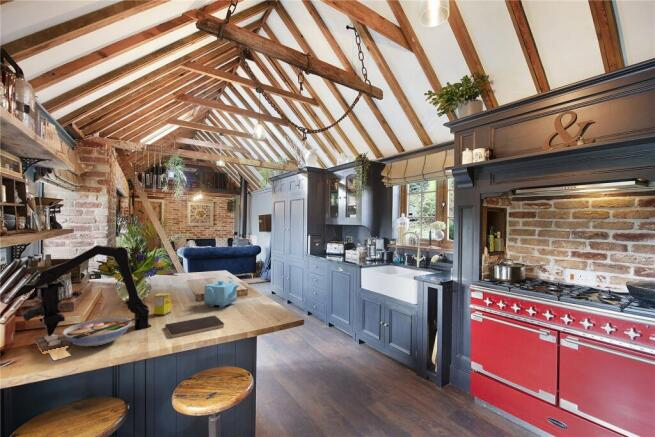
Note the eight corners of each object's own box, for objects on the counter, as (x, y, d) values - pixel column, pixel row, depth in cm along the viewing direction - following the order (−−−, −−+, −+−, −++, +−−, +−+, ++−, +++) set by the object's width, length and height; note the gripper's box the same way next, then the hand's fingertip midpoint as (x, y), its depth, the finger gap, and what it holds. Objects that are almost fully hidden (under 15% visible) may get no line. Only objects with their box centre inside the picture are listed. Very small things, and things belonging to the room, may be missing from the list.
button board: (70, 347, 119) (70, 342, 119) (42, 354, 112) (42, 349, 112) (60, 337, 129) (60, 332, 129) (34, 343, 123) (34, 337, 123)
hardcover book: (224, 328, 143) (224, 323, 143) (171, 339, 129) (171, 334, 129) (214, 319, 155) (214, 315, 155) (165, 328, 142) (165, 323, 142)
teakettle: (202, 303, 183) (203, 279, 183) (234, 299, 192) (234, 276, 192) (206, 311, 167) (206, 285, 167) (240, 307, 175) (240, 282, 176)
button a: (61, 347, 118) (61, 341, 118) (49, 350, 115) (49, 344, 115) (59, 345, 120) (59, 339, 120) (48, 347, 117) (48, 341, 117)
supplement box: (171, 312, 164) (171, 292, 165) (164, 316, 158) (164, 295, 159) (161, 312, 165) (161, 292, 165) (153, 315, 159) (153, 295, 159)
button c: (56, 341, 124) (56, 335, 124) (44, 344, 121) (44, 338, 121) (54, 339, 126) (54, 333, 126) (43, 342, 123) (43, 336, 123)
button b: (58, 342, 121) (58, 336, 121) (47, 344, 118) (47, 338, 118) (56, 340, 123) (56, 334, 123) (45, 342, 120) (45, 336, 120)
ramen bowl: (111, 329, 139) (112, 311, 139) (146, 336, 130) (146, 318, 130) (45, 351, 115) (45, 330, 115) (82, 361, 107) (82, 339, 107)
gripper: (19, 298, 123) (19, 336, 123) (26, 306, 112) (25, 348, 112) (55, 293, 132) (54, 328, 132) (65, 300, 121) (64, 338, 120)
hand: (49, 335), depth 124 cm, fingers closed
